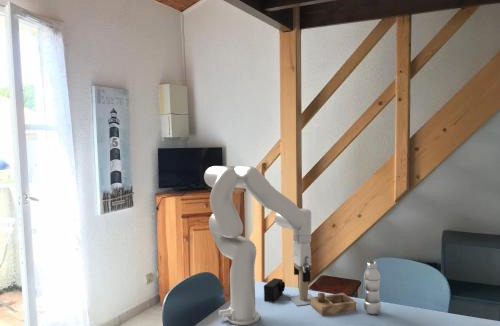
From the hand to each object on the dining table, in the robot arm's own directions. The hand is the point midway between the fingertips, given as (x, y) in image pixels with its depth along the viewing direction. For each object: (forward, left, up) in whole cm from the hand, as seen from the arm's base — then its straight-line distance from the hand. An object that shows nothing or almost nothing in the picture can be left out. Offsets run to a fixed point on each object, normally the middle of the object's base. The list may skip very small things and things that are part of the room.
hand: (301, 277), depth 171 cm
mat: (+1, 0, -10) cm, 10 cm away
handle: (+1, 0, -10) cm, 10 cm away
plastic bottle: (+21, -20, -10) cm, 31 cm away
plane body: (+9, -11, -10) cm, 17 cm away
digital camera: (-10, +7, -10) cm, 16 cm away
